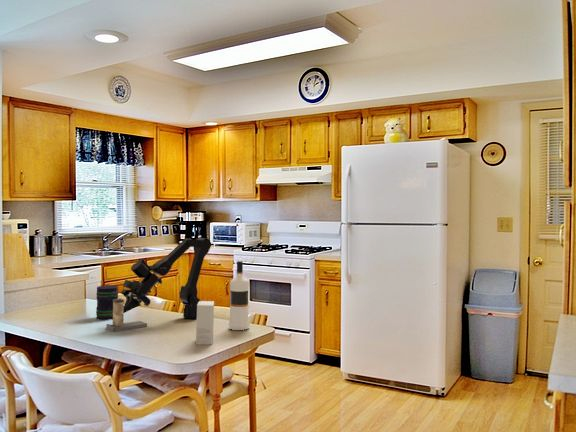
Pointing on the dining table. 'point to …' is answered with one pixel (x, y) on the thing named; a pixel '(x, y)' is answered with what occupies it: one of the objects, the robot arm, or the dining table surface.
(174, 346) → the dining table surface
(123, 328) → the fader track
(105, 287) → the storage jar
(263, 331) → the dining table surface
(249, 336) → the dining table surface
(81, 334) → the dining table surface
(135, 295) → the robot arm
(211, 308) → the skincare box
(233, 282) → the vodka
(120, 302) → the lever
